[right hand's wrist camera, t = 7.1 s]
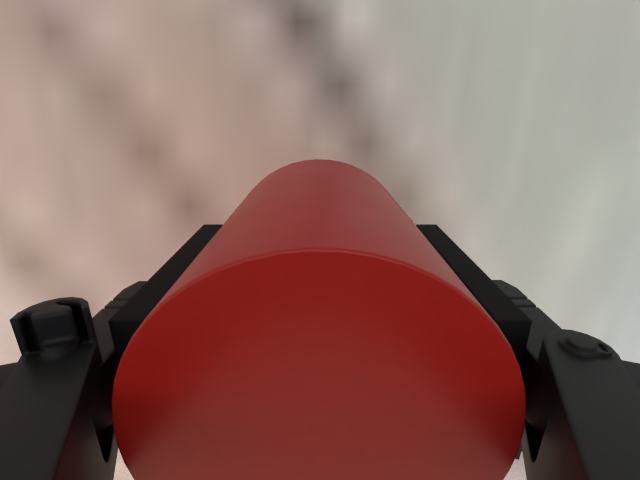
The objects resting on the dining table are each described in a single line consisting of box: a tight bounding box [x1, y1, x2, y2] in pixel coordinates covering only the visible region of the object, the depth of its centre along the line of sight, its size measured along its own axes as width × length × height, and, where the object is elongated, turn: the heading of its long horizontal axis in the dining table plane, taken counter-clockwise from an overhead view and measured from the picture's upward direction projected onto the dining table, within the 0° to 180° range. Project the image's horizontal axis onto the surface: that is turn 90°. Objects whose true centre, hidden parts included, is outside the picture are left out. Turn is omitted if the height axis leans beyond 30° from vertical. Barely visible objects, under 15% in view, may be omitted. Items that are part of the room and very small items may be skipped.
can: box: [111, 160, 526, 480], centre depth 11 cm, size 7×7×10 cm
